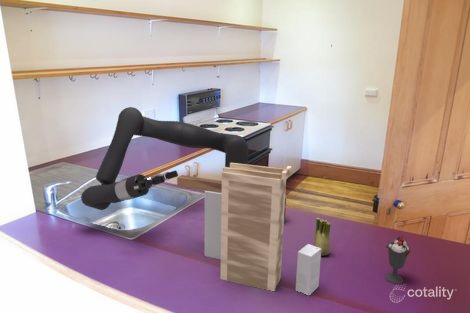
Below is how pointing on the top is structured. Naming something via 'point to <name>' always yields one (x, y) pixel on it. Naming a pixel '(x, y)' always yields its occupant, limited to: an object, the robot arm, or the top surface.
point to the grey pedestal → (213, 224)
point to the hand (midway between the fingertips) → (170, 175)
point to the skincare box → (308, 269)
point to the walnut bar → (199, 183)
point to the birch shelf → (252, 224)
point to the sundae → (397, 258)
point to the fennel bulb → (322, 236)
